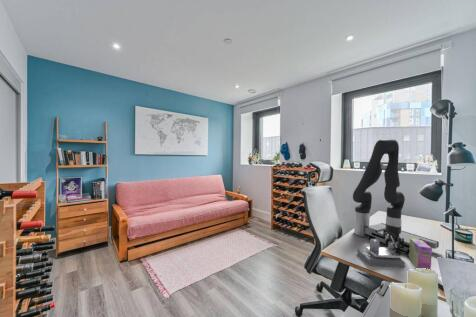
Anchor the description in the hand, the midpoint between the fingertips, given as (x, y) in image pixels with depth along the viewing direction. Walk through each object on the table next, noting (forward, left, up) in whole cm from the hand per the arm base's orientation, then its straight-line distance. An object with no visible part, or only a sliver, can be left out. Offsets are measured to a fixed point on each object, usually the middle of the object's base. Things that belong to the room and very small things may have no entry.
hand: (392, 250), depth 121 cm
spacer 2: (0, 0, -1) cm, 1 cm away
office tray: (-11, +12, -2) cm, 16 cm away
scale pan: (+10, -13, +3) cm, 16 cm away
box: (+12, +6, -2) cm, 14 cm away
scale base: (+10, -14, -1) cm, 17 cm away
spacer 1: (+10, -17, +4) cm, 20 cm away
